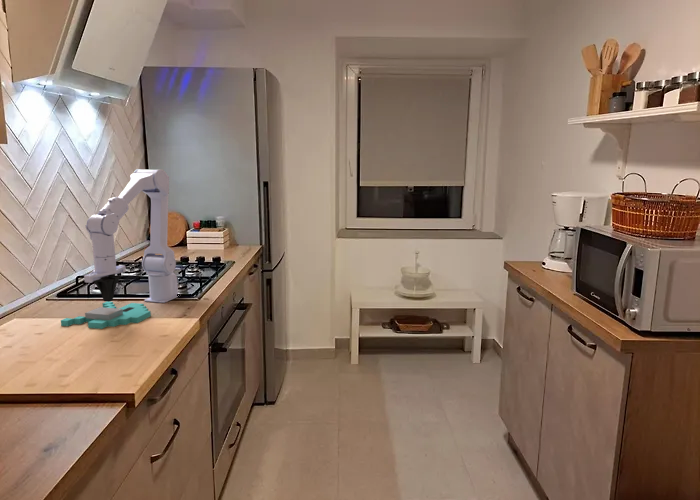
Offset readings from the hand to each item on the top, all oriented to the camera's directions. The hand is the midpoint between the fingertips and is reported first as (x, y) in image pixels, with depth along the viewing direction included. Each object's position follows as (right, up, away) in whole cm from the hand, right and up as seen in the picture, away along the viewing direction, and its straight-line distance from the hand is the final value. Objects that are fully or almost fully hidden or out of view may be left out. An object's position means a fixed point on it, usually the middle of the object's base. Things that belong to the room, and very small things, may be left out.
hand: (108, 300), depth 148 cm
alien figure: (0, -6, +4) cm, 7 cm away
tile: (0, -3, +2) cm, 4 cm away
